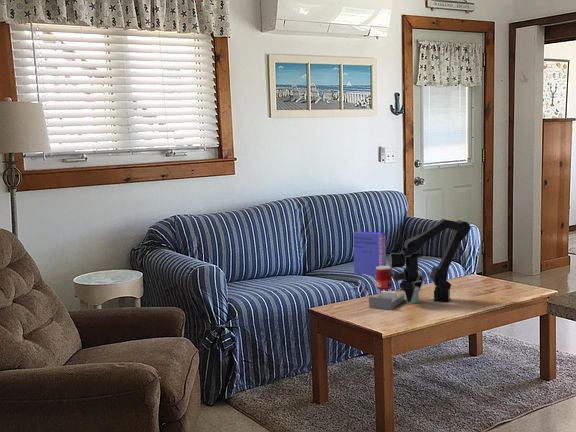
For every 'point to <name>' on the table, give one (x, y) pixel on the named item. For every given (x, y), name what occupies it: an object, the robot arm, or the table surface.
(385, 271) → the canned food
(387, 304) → the pusher lane
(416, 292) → the jar
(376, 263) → the cereal box
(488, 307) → the table surface
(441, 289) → the robot arm
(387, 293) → the plate
